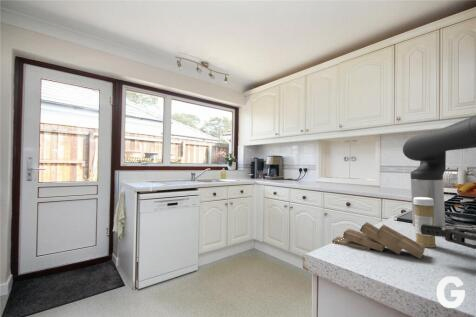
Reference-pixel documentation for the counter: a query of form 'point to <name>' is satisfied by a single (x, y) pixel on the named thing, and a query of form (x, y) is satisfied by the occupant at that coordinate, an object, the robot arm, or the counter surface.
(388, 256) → the counter surface
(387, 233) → the domino
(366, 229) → the domino
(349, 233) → the domino
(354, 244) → the end domino
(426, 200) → the sprinkles bottle
